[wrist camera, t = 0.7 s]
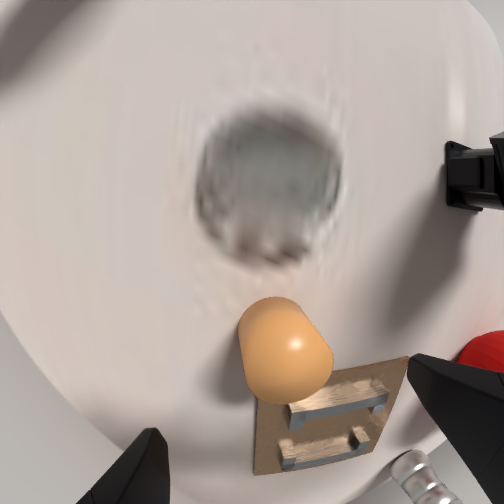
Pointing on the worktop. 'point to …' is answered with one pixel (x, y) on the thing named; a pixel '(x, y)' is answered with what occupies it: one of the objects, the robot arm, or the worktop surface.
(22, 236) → the worktop surface
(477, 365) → the ceramic cup
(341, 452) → the socket
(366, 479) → the worktop surface
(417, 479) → the plastic bottle
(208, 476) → the worktop surface
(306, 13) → the worktop surface
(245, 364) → the cap
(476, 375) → the robot arm
